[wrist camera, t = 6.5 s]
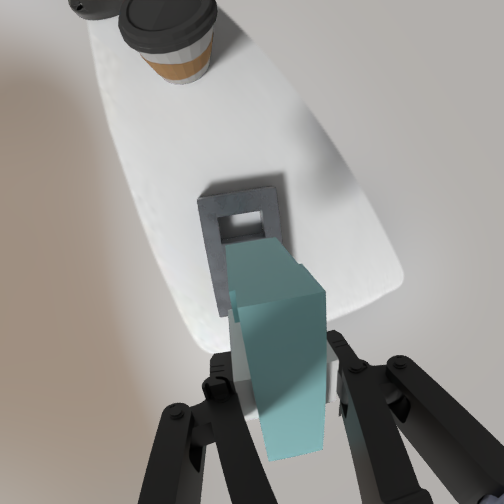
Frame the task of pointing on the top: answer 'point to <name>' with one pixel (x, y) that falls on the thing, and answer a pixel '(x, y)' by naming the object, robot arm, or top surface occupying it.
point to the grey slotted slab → (215, 246)
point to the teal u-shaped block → (281, 343)
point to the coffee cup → (170, 35)
